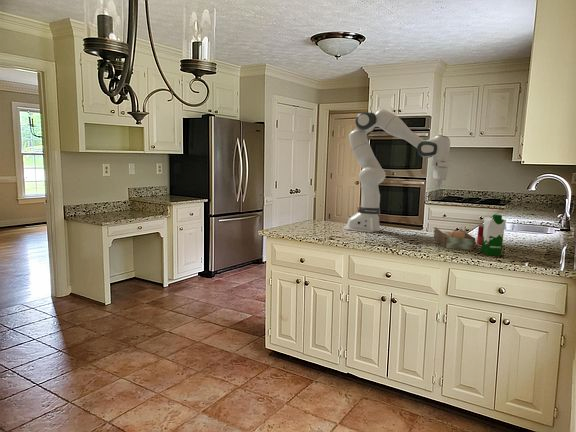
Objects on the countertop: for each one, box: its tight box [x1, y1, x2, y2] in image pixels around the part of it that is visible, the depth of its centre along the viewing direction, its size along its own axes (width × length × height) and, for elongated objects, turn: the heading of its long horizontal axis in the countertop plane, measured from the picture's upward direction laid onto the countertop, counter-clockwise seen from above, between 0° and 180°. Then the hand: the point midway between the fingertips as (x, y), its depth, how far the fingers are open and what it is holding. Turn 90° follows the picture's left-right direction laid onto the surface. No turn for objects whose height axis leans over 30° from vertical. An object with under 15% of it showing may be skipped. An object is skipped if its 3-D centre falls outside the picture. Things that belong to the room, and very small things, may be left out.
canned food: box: [476, 223, 484, 246], centre depth 239 cm, size 8×8×11 cm
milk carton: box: [480, 214, 507, 257], centre depth 216 cm, size 9×9×20 cm
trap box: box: [433, 226, 476, 251], centre depth 239 cm, size 15×28×6 cm, turn 172°
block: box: [451, 230, 465, 238], centre depth 229 cm, size 5×5×4 cm
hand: (438, 187), depth 255 cm, fingers closed
